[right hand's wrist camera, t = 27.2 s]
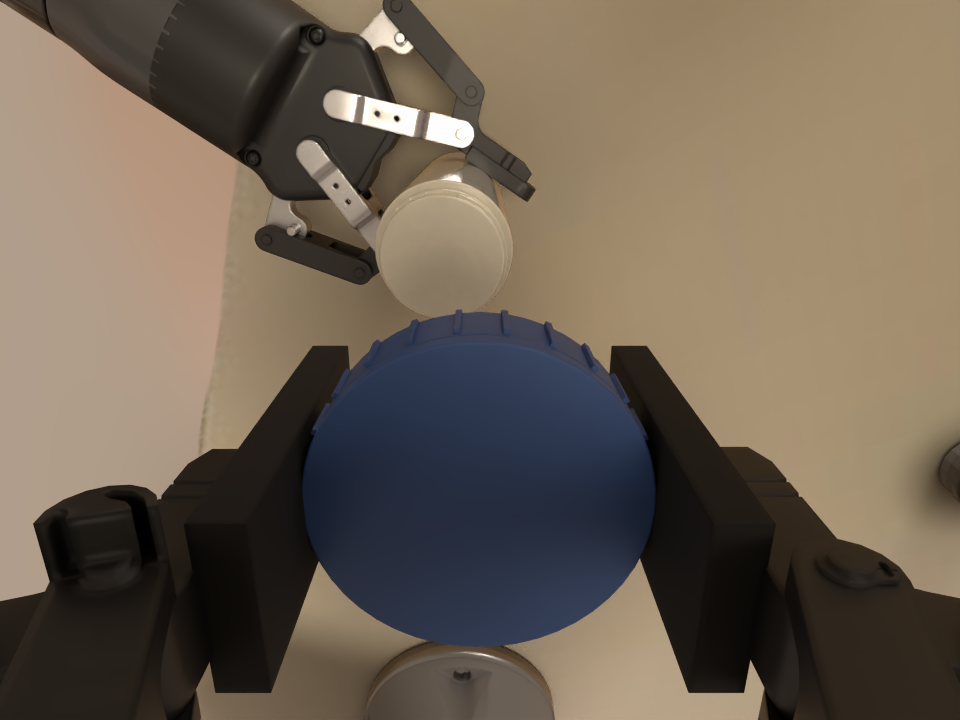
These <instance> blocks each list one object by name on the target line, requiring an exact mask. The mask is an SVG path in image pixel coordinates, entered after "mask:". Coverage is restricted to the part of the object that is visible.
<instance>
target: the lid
mask: <svg viewBox="0 0 960 720" xmlns="http://www.w3.org/2000/svg"><path fill="white" fill-rule="evenodd" d="M331 397H332V398H333V400H332V402H331V404H329V403H326V405H325V406H324V408H323V410H322V412H321V414H320V416H319V418H318V419H317V421H316V423H315V425H314V427H313V429H312V431H311V435H314V438H313V440H312V442H311V444H310V447H309V450H308V453H307V457H306V460H305V463H304V468H303V475H302V494H303V504H304V512H305V521H306V529H307V534H308V537H309V540H310V543H311V546H312V548H313V550H314V552H315V554H316V556H317V558H318V560H319V562H320V564H321V565H322V567H323V568H324V569H325V571H326V572H327V574H328V575H329V577H330V578H331V580H332V581H333V582H334V583H335V584H336V585H337V586H338V588H339V589H340V590H341V591H342V592H343V593H344V594H345V595H346V596H347V597H348V598H349V599H350V600H352V601H353V602H354V603H355V604H356V605H357V606H358V607H359V608H361V609H362V610H364V611H365V612H367V613H368V614H370V615H371V616H373V617H374V618H375V619H377V620H379V621H381V622H383V623H385V624H386V625H388V626H390V627H392V628H394V629H396V630H399V631H401V632H404V633H406V634H409V635H411V636H414V637H417V638H421V639H425V640H428V641H432V642H436V643H442V644H448V645H454V646H467V647H491V646H502V645H510V644H517V643H521V642H525V641H529V640H533V639H537V638H540V637H543V636H546V635H549V634H551V633H554V632H557V631H559V630H561V629H563V628H565V627H567V626H569V625H571V624H573V623H575V622H577V621H579V620H580V619H582V618H583V617H585V616H586V615H588V614H589V613H591V612H593V611H594V610H595V609H596V608H598V607H599V606H600V605H601V604H602V603H604V602H605V601H606V600H607V599H609V598H610V597H611V596H612V594H613V593H614V592H615V591H616V590H617V589H618V588H619V587H620V586H621V585H622V584H623V583H624V581H625V580H626V579H627V577H628V576H629V574H630V573H631V572H632V570H633V569H634V568H635V566H636V564H637V562H638V560H639V558H640V557H641V555H642V553H643V551H644V549H645V546H646V543H647V541H648V538H649V535H650V533H651V529H652V524H653V519H654V514H655V504H656V481H655V471H654V467H653V463H652V459H651V455H650V451H649V449H648V446H647V444H646V442H645V441H646V440H649V439H648V436H647V433H646V432H645V430H644V428H643V426H642V424H641V422H640V420H639V418H638V416H637V414H636V413H635V411H634V409H633V408H631V409H629V407H628V405H627V403H628V402H630V401H629V399H628V397H627V395H626V393H625V391H624V389H623V387H622V385H621V383H620V382H619V380H618V378H617V376H616V375H615V373H613V374H611V375H610V374H609V373H608V372H607V371H606V370H605V368H604V367H603V366H602V365H601V364H600V362H599V361H598V360H597V359H596V358H594V357H593V355H592V352H591V350H590V348H589V346H588V345H586V344H585V343H584V344H583V345H582V346H581V345H579V344H578V343H576V342H575V341H573V340H572V339H570V338H569V337H567V336H566V335H564V334H562V333H560V332H558V331H556V330H554V329H553V327H552V324H551V323H549V322H547V321H546V322H545V324H544V325H543V324H540V323H537V322H534V321H532V320H529V319H526V318H521V317H516V316H511V315H508V311H507V310H502V311H501V314H499V313H486V312H474V313H462V309H459V310H456V312H455V314H452V315H446V316H440V317H436V318H433V319H429V320H426V321H423V322H420V323H419V322H418V320H417V319H416V320H414V321H412V322H411V325H410V327H408V328H406V329H403V330H401V331H399V332H397V333H395V334H394V335H392V336H391V337H389V338H387V339H386V340H384V341H383V342H380V341H379V340H376V341H375V342H374V343H373V345H372V347H371V349H370V351H369V353H367V354H366V355H365V356H364V357H363V358H362V359H361V360H360V361H359V362H358V363H357V364H356V365H355V367H354V368H353V369H352V370H351V371H350V370H349V369H346V370H345V371H344V373H343V375H342V377H341V378H340V380H339V382H338V384H337V386H336V388H335V390H334V392H333V393H332V395H331Z"/></svg>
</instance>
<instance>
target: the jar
mask: <svg viewBox="0 0 960 720" xmlns="http://www.w3.org/2000/svg"><path fill="white" fill-rule="evenodd" d="M465 156H466V154H465V153H463V152H453V153H448V154H445V155H442V156H440V157H438V158H436V159H435V160H434V161H432V162H431V163H430V164H429V165H428V166H427V167H426V168H425V169H424V170H423V171H422V172H421V173H420V174H419V175H418V176H417V177H416V178H415V179H414V180H413V181H412V182H411V183H410V184H409V185H408V186H407V187H406V188H405V189H404V190H403V191H402V192H401V193H400V194H399V195H398V196H397V197H396V198H395V199H394V200H393V202H392V203H391V204H390V205H389V206H388V208H387V209H386V211H385V212H384V214H383V216H382V218H381V220H380V222H379V225H378V229H377V232H376V238H375V255H376V261H377V266H378V269H379V271H380V274H381V276H382V278H383V280H384V282H385V284H386V285H387V287H388V288H389V289H390V291H391V292H392V293H393V295H394V296H395V297H396V298H397V299H398V301H400V302H401V303H402V304H403V305H405V306H406V307H408V308H409V309H411V310H412V311H414V312H417V313H419V314H421V315H424V316H426V317H432V318H436V317H440V316H446V315H452V314H455V312H456V310H459V309H462V313H472V312H475V311H476V310H478V309H479V308H480V307H482V306H483V305H485V304H486V303H488V302H489V301H490V300H491V299H492V298H493V297H494V296H495V295H496V294H497V293H498V292H499V290H500V289H501V287H502V286H503V284H504V283H505V281H506V279H507V277H508V274H509V271H510V268H511V264H512V257H513V242H512V235H511V231H510V227H509V222H508V218H507V214H506V210H505V206H504V201H503V197H502V193H501V189H500V185H499V182H497V181H496V180H494V179H493V178H492V177H490V176H489V175H487V174H486V173H485V172H483V171H482V170H481V169H479V168H477V167H476V166H474V165H473V164H471V163H470V162H468V161H467V160H466V159H465Z"/></svg>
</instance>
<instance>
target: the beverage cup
mask: <svg viewBox="0 0 960 720" xmlns="http://www.w3.org/2000/svg"><path fill="white" fill-rule="evenodd" d="M940 479H941V482H942V484H943V485H944V486H945V487H946V488H947V489H948V490H949V491H950V492H951V493H952V494H953V495H954V497H955V498H956V499H957V501H958V502H959V503H960V444H959V445H957V446H956V447H955V448H953V449H952V450H951V451H950V452H949V453H948V454H947V455H946V457H945V458H944V460H943V462H942V464H941V467H940Z"/></svg>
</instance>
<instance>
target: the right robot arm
mask: <svg viewBox="0 0 960 720" xmlns="http://www.w3.org/2000/svg"><path fill="white" fill-rule="evenodd" d="M346 369H349V370H350V367H349V354H348V346H313V347H312V348H311V349H310V351H309V352H308V353H307V355H306V356H305V358H304V359H303V360H302V362H301V363H300V364H299V366H298V367H297V369H296V370H295V371H294V373H293V374H292V375H291V377H290V378H289V380H288V381H287V382H286V384H285V385H284V386H283V388H282V389H281V391H280V392H279V393H278V395H277V396H276V397H275V399H274V400H273V402H272V403H271V404H270V406H269V407H268V409H267V410H266V411H265V413H264V414H263V415H262V417H261V418H260V420H259V421H258V422H257V424H256V425H255V426H254V428H253V429H252V431H251V432H250V433H249V435H248V436H247V437H246V439H245V440H244V442H243V443H242V444H241V446H240V447H239V448H238V449H212V450H210V451H208V452H207V453H205V454H203V455H202V456H200V457H199V458H197V459H195V460H194V461H192V462H190V463H189V464H188V465H187V466H186V467H185V468H184V469H183V471H182V472H181V473H180V474H179V475H178V477H177V478H176V479H175V480H174V484H173V485H170V486H169V487H168V488H167V490H166V491H165V492H164V493H163V494H162V498H161V499H158V500H157V496H156V494H154V493H153V492H151V491H150V490H149V489H147V488H144V487H139V486H134V485H116V486H106V487H102V488H98V489H93V490H88V491H85V492H82V493H80V494H77V495H74V496H72V497H69V498H67V499H64V500H62V501H61V502H59V503H57V504H56V505H54V506H52V507H51V508H49V509H47V510H46V511H45V512H44V513H43V514H42V515H41V516H40V517H39V518H38V519H37V520H36V521H35V522H34V523H33V525H34V528H35V532H36V535H37V539H38V542H39V546H40V549H41V553H42V556H43V560H44V563H45V567H46V570H47V574H48V577H49V581H50V582H49V584H48V586H47V589H46V591H45V592H42V593H38V594H34V595H29V596H24V597H19V598H14V599H9V600H4V601H0V720H200V719H201V715H200V708H199V702H198V697H197V692H196V688H197V686H198V684H199V682H200V680H201V678H202V676H203V674H204V672H205V670H206V668H207V666H208V664H209V662H210V666H211V671H212V677H213V682H214V687H215V692H216V693H271V691H272V688H273V686H274V683H275V680H276V677H277V675H278V672H279V669H280V666H281V664H282V661H283V658H284V655H285V653H286V650H287V647H288V644H289V641H290V639H291V636H292V633H293V630H294V628H295V625H296V622H297V619H298V617H299V614H300V611H301V608H302V606H303V603H304V600H305V597H306V595H307V592H308V589H309V586H310V583H311V581H312V578H313V575H314V572H315V570H316V567H317V564H318V561H319V560H318V558H317V556H316V554H315V552H314V550H313V548H312V546H311V543H310V540H309V537H308V534H307V529H306V521H305V512H304V504H303V494H302V475H303V468H304V463H305V460H306V457H307V453H308V450H309V447H310V444H311V442H312V440H313V438H314V435H311V431H312V429H313V427H314V425H315V423H316V421H317V419H318V418H319V416H320V414H321V412H322V410H323V408H324V406H325V405H326V403H329V404H331V402H332V400H333V398H332V397H331V395H332V393H333V392H334V390H335V388H336V386H337V384H338V382H339V380H340V378H341V377H342V375H343V373H344V371H345V370H346ZM613 373H615V375H616V376H617V378H618V380H619V382H620V383H621V385H622V387H623V389H624V391H625V393H626V395H627V397H628V399H629V401H630V402H628V403H627V405H628V407H629V409H631V408H633V409H634V411H635V413H636V414H637V416H638V418H639V420H640V422H641V424H642V426H643V428H644V430H645V432H646V433H647V436H648V439H649V440H646V441H645V442H646V444H647V446H648V449H649V451H650V455H651V459H652V463H653V467H654V471H655V481H656V504H655V514H654V519H653V524H652V529H651V533H650V535H649V538H648V541H647V543H646V546H645V549H644V551H643V553H642V555H641V557H640V560H641V563H642V565H643V568H644V571H645V574H646V576H647V579H648V582H649V585H650V587H651V590H652V593H653V596H654V598H655V601H656V604H657V607H658V609H659V612H660V615H661V618H662V621H663V623H664V626H665V629H666V632H667V634H668V637H669V640H670V643H671V645H672V648H673V651H674V654H675V656H676V659H677V662H678V665H679V668H680V670H681V673H682V676H683V679H684V681H685V684H686V687H687V690H688V692H689V693H744V690H745V685H746V680H747V674H748V669H749V664H750V659H751V661H752V663H753V665H754V667H755V669H756V671H757V674H758V676H759V678H760V680H761V682H762V684H763V686H764V692H763V697H762V702H761V707H760V712H759V717H758V720H960V598H955V597H950V596H945V595H940V594H935V593H930V592H926V591H922V590H918V589H914V587H913V585H912V583H911V581H910V580H909V578H908V577H907V576H906V575H905V573H904V572H903V571H902V570H901V568H900V567H899V566H897V565H896V564H895V563H893V562H892V561H890V560H889V559H887V558H886V557H885V556H883V555H882V554H880V553H877V552H875V551H873V550H871V549H869V548H866V547H864V546H862V545H859V544H855V543H851V542H847V541H843V540H839V539H837V538H836V537H835V536H834V535H833V533H832V532H831V531H830V530H829V529H828V527H827V526H826V525H825V524H824V523H823V522H822V520H821V519H820V518H819V517H818V516H817V514H816V513H815V512H814V511H813V510H812V509H811V507H810V506H809V505H808V504H807V503H806V501H805V500H804V499H803V498H802V497H799V495H798V492H797V491H796V490H795V488H794V487H793V486H792V485H791V484H790V483H789V482H786V478H785V477H784V475H783V474H782V473H781V472H780V471H779V470H778V468H777V467H776V466H775V465H774V464H773V462H772V461H770V460H768V459H767V458H765V457H763V456H762V455H760V454H758V453H757V452H755V451H753V450H752V449H750V448H748V447H720V446H719V445H718V444H717V442H716V441H715V439H714V438H713V437H712V435H711V434H710V433H709V431H708V430H707V428H706V427H705V426H704V424H703V423H702V422H701V420H700V419H699V417H698V416H697V415H696V413H695V412H694V410H693V409H692V408H691V406H690V405H689V404H688V402H687V401H686V399H685V398H684V397H683V395H682V394H681V393H680V391H679V390H678V388H677V387H676V386H675V384H674V383H673V382H672V380H671V379H670V377H669V376H668V375H667V373H666V372H665V371H664V369H663V368H662V366H661V365H660V364H659V362H658V361H657V360H656V358H655V357H654V355H653V354H652V353H651V351H650V350H649V349H648V347H647V346H612V349H611V362H610V375H611V374H613ZM364 720H555V719H554V711H553V702H552V697H551V694H550V691H549V688H548V686H547V684H546V682H545V681H544V679H543V678H542V676H541V675H540V674H539V672H538V671H537V670H536V669H535V668H534V667H533V666H532V665H531V664H530V663H528V662H527V661H526V660H525V659H523V658H522V657H520V656H519V655H517V654H515V653H513V652H511V651H509V650H507V649H505V648H502V647H500V646H491V647H467V646H454V645H448V644H442V643H436V642H432V643H428V644H424V645H421V646H418V647H416V648H413V649H411V650H409V651H407V652H405V653H403V654H401V655H400V656H398V657H397V658H395V659H394V660H392V661H391V662H390V663H389V664H388V665H387V666H386V667H385V668H384V669H383V670H382V671H381V672H380V673H379V675H378V676H377V678H376V679H375V681H374V683H373V685H372V687H371V689H370V692H369V696H368V701H367V706H366V712H365V717H364Z"/></svg>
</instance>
